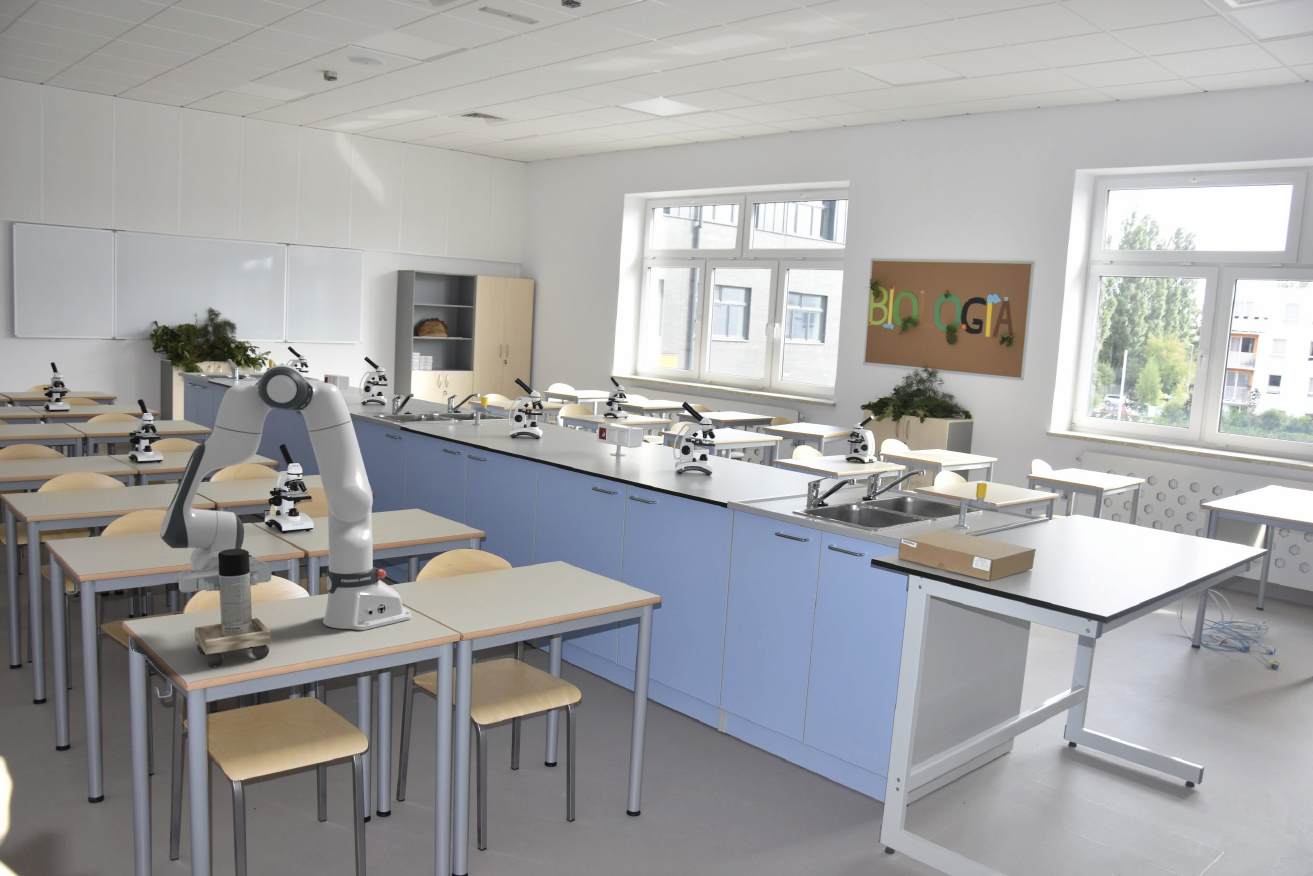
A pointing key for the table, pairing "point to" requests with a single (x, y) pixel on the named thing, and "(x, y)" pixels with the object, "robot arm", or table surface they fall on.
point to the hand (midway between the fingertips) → (232, 584)
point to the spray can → (235, 592)
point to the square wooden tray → (231, 641)
